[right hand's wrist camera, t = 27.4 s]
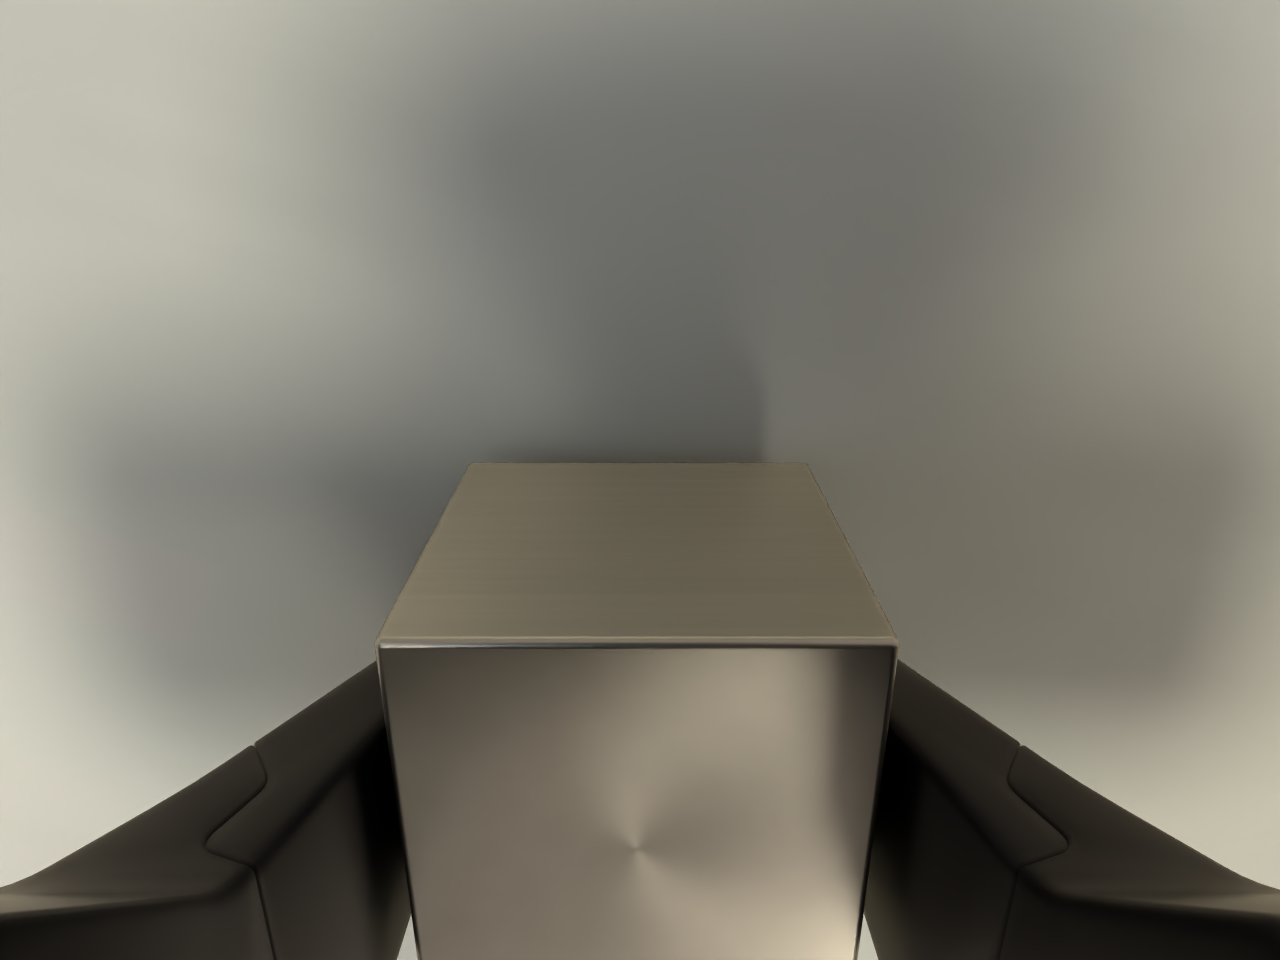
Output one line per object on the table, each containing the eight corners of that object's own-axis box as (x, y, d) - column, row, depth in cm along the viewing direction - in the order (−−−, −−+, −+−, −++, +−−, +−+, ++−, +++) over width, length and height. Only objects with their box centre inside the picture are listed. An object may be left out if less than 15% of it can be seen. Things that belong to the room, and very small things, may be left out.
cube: (785, 742, 13) (852, 1017, 9) (491, 742, 13) (422, 1017, 9) (808, 460, 12) (903, 641, 7) (467, 460, 12) (370, 641, 7)
